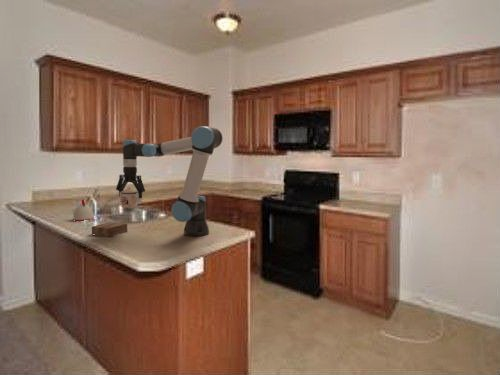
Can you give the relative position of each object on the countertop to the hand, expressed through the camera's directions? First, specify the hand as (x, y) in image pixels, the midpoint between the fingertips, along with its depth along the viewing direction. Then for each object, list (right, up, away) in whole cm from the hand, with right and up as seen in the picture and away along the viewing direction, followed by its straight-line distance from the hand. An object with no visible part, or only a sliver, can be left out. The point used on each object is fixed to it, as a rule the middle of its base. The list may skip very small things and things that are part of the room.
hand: (130, 203), depth 197 cm
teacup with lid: (0, -2, 0) cm, 2 cm away
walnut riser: (-14, -19, +4) cm, 23 cm away
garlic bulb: (-49, -15, +44) cm, 68 cm away
